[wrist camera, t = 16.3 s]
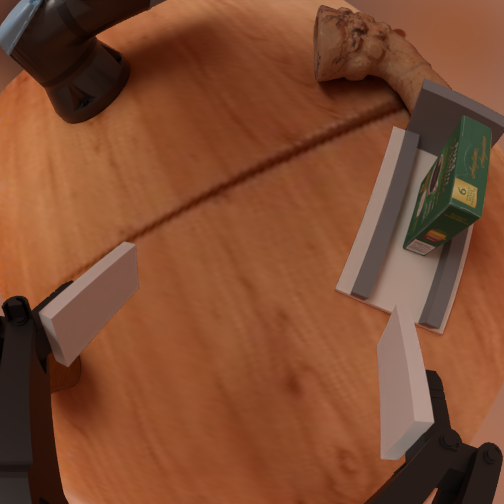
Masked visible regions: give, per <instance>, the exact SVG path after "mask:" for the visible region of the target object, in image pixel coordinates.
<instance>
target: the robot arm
mask: <svg viewBox="0 0 504 504" xmlns="http://www.w3.org/2000/svg"><path fill="white" fill-rule="evenodd" d="M164 1H166V0H21V1H20V2H19V3H18V4H17V5H16V7H15V8H14V9H13V10H12V11H11V12H10V14H9V15H8V16H7V18H6V19H5V20H4V22H3V23H2V25H1V26H0V46H1V47H2V48H3V49H4V51H5V52H6V53H7V55H8V56H10V57H11V58H13V59H14V60H15V61H16V62H17V63H18V64H19V65H20V66H21V67H22V68H23V69H24V70H25V71H26V72H28V73H29V74H30V75H31V76H32V77H33V78H34V79H35V80H36V81H37V82H38V83H40V84H41V85H42V86H43V87H44V88H45V90H46V92H47V95H48V97H49V99H50V101H51V103H52V105H53V107H54V110H55V112H56V113H57V114H58V115H59V116H60V117H61V118H62V119H63V120H64V121H66V122H68V123H78V122H82V121H84V120H87V119H89V118H91V117H92V116H94V115H96V114H97V113H99V112H100V111H101V110H103V109H104V108H105V107H106V106H107V105H108V104H109V103H111V102H112V100H113V99H114V98H115V97H116V96H117V95H118V94H119V92H120V91H121V90H122V88H123V87H124V85H125V83H126V81H127V79H128V76H129V71H130V67H129V64H128V62H127V61H126V59H125V58H124V56H123V55H122V54H121V53H120V52H118V51H116V50H115V49H113V48H111V47H110V46H108V45H106V44H105V43H103V42H101V41H99V40H98V39H97V38H96V37H95V35H97V34H99V33H101V32H103V31H105V30H106V29H108V28H110V27H112V26H114V25H116V24H118V23H120V22H122V21H125V20H127V19H129V18H131V17H133V16H135V15H137V14H140V13H142V12H144V11H147V10H150V9H151V8H152V7H154V6H156V5H158V4H160V3H162V2H164ZM138 289H139V280H138V267H137V252H136V244H132V243H128V242H123V243H121V244H120V245H119V246H118V247H116V248H115V249H114V250H113V251H111V252H110V253H109V254H107V255H106V256H105V257H104V258H102V259H101V260H100V261H99V262H97V263H96V264H95V265H94V266H93V267H91V268H90V269H89V270H88V271H86V272H85V273H84V274H83V275H82V276H80V277H79V278H78V279H77V280H76V281H72V280H71V281H69V282H67V283H65V284H62V285H61V286H60V287H59V288H58V289H56V290H55V292H53V293H52V294H50V296H49V297H47V298H46V299H45V300H43V301H42V302H41V303H40V304H39V305H38V306H37V307H35V308H34V309H33V310H32V311H31V309H30V305H29V302H28V300H27V299H26V297H23V296H14V297H11V298H9V299H7V300H6V301H5V302H4V303H3V305H2V309H3V312H4V315H5V317H3V316H0V504H69V503H68V501H67V499H66V498H65V495H64V492H63V488H62V483H61V478H60V472H59V466H58V460H57V453H56V446H55V438H54V430H53V420H52V407H51V391H50V361H49V357H48V355H49V354H50V353H51V352H53V355H54V357H55V360H56V361H57V362H59V363H61V364H63V365H65V366H67V367H69V366H70V364H71V363H72V362H73V361H74V360H75V359H76V357H77V356H78V355H79V354H80V353H81V352H82V351H83V349H84V348H85V347H86V346H87V345H88V344H89V343H90V342H91V340H92V339H93V338H94V337H95V336H96V335H97V334H98V333H99V331H100V330H101V329H102V328H103V327H104V326H105V325H106V324H107V323H108V321H109V320H110V319H111V318H112V317H113V316H114V315H115V314H116V313H117V312H118V310H119V309H120V308H121V307H122V306H123V305H124V304H125V303H126V302H127V301H128V300H129V299H130V298H131V296H132V295H133V294H134V293H135V292H136V291H137V290H138ZM377 357H378V372H379V390H380V418H381V459H386V460H399V459H400V458H401V457H402V456H403V455H404V454H405V458H406V462H405V463H404V464H403V465H402V466H401V467H400V468H398V469H397V470H396V471H395V472H394V474H393V475H392V477H391V478H390V479H389V480H388V481H387V482H386V483H385V484H384V485H383V486H382V487H381V488H380V489H379V490H378V491H377V492H376V493H375V494H374V495H373V496H371V497H370V498H369V499H368V500H367V501H366V502H365V503H364V504H423V503H424V501H425V500H426V499H427V498H428V496H429V495H430V494H431V492H432V491H433V490H434V488H438V490H437V492H436V495H435V497H434V499H433V501H432V504H492V502H493V499H494V495H495V491H496V487H497V484H498V479H499V475H500V471H501V466H502V461H503V456H502V453H501V450H500V449H499V447H498V446H496V445H495V444H494V443H490V442H488V443H484V444H482V445H481V446H480V447H479V448H475V447H472V446H469V445H467V444H464V443H462V440H461V438H460V436H459V434H458V433H457V432H456V431H455V430H453V429H451V426H450V420H449V414H448V409H447V404H446V400H445V394H444V392H443V391H444V390H443V385H442V381H441V379H440V377H439V376H438V374H437V373H436V371H431V370H425V367H424V363H423V358H422V353H421V349H420V344H419V340H418V336H417V332H416V328H415V324H414V320H413V316H412V312H411V309H410V307H408V306H403V305H399V304H396V305H395V307H394V309H393V312H392V314H391V316H390V318H389V321H388V323H387V325H386V327H385V330H384V332H383V334H382V336H381V338H380V340H379V342H378V345H377Z"/></svg>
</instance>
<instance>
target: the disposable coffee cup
mask: <svg viewBox="0 0 504 504" xmlns="http://www.w3.org/2000/svg"><path fill="white" fill-rule="evenodd" d="M48 357H49V361H50V391H51V394H52V393H54V392H56V391H59V390H62V389H65V388H68V387H72V386H74V385H75V384H76V383H77V381H78V379H79V377H80V372H81V365H80V360H79V356H77V357H76V359H75V360H74V361H73V362H72V363H71V364H70V366H69V367H67V366H65V365H63V364H61V363H59V362H57V361H56V360H55V357H54V355H53V352H51V353H50V354H49V355H48Z"/></svg>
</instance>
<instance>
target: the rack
mask: <svg viewBox="0 0 504 504" xmlns="http://www.w3.org/2000/svg"><path fill="white" fill-rule="evenodd" d="M463 115H464V116H467V117H469V118H472V119H474V120H476V121H478V122H480V123H481V124H483V125H485V126H487V127H489V128H490V129H491V130H492V138H491V148H492V147H493V146H494V145H495V143H496V142H497V141H498V140H499V138H500V137H501V136H502V134H503V133H504V116H502V115H501V114H499V113H497V112H495V111H493V110H492V109H490V108H488V107H486V106H484V105H482V104H480V103H478V102H476V101H474V100H472V99H470V98H468V97H466V96H464V95H462V94H460V93H458V92H456V91H453V90H451V89H449V88H447V87H445V86H442V85H440V84H438V83H435V82H433V81H430V80H428V79H425V78H424V81H423V84H422V87H421V90H420V92H419V95H418V98H417V101H416V104H415V107H414V110H413V112H412V115H411V118H410V120H409V123H408V125H407V128H406V131H405V130H403V129H400V128H398V127H395V126H394V127H393V130H392V133H391V136H390V139H389V143H388V146H387V149H386V152H385V156H384V159H383V162H382V165H381V168H380V171H379V174H378V177H377V180H376V183H375V186H374V189H373V192H372V195H371V198H370V200H369V203H368V206H367V209H366V212H365V214H364V217H363V220H362V223H361V225H360V228H359V231H358V233H357V236H356V238H355V241H354V244H353V246H352V249H351V251H350V254H349V256H348V259H347V261H346V264H345V266H344V269H343V271H342V274H341V276H340V279H339V281H338V283H337V286H336V288H335V291H337V292H339V293H342V294H344V295H346V296H349V297H351V298H353V299H356V300H358V301H361V302H363V303H365V304H368V305H370V306H372V307H375V308H377V309H379V310H382V311H384V312H387V313H389V314H392V312H393V309H394V307H395V305H396V304H399V305H403V306H408V307H410V309H411V312H412V316H413V320H414V324H415V325H417V326H420V327H422V328H424V329H427V330H429V331H432V332H434V333H436V334H443V331H444V328H445V326H446V323H447V320H448V317H449V314H450V311H451V308H452V305H453V302H454V299H455V296H456V292H457V289H458V286H459V282H460V279H461V275H462V272H463V268H464V264H465V260H466V256H467V252H468V248H469V244H470V240H471V235H472V230H473V226H474V223H473V224H472V225H471V226H469V227H468V228H466V229H465V230H463V231H462V232H460V233H459V234H457V235H456V236H454V237H453V238H451V239H450V240H448V241H447V242H445V243H444V244H442V245H441V246H439V247H438V248H436V249H435V250H433V251H432V252H430V253H428V254H427V255H425V256H422V255H420V254H417V253H414V252H411V251H409V250H406V249H403V244H404V241H405V237H406V234H407V231H408V228H409V225H410V221H411V218H412V215H413V211H414V208H415V204H416V201H417V196H418V193H419V189H420V185H421V182H422V181H423V179H424V178H425V176H426V175H427V173H428V172H429V170H430V169H431V167H432V165H433V164H434V162H435V161H436V159H437V158H438V156H439V155H440V153H441V151H442V150H443V148H444V146H445V145H446V143H447V141H448V140H449V138H450V136H451V135H452V133H453V131H454V130H455V128H456V126H457V124H458V122H459V121H460V119H461V117H462V116H463Z"/></svg>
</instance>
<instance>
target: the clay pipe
mask: <svg viewBox="0 0 504 504" xmlns="http://www.w3.org/2000/svg"><path fill="white" fill-rule="evenodd" d="M314 60H315V77H316V80H317V81H319V82H323V81H328V80H333V79H338V78H342V77H345V78H346V79H347V80H353V81H357V80H363V79H364V78H365V77H366V75H373V76H377V77H380V78H383V79H384V80H385V81H386V82H387V83H388V84H389V85H390V86H391V87H392V89H393V90H394V91H395V92H397V93H398V94H399V95H400V97H401V99H402V100H403V102H404V104H405V105H406V107H407V109H408V111H409V113H410V115H412V112H413V110H414V107H415V104H416V101H417V98H418V95H419V92H420V90H421V87H422V84H423V81H424V78H425V79H428V80H430V81H433V82H435V83H438V84H440V85H442V86H445V87H447V88H449V89H451V90H452V88H451V87H450V86H449V85H448V84H447V82H445V81H444V80H443V79H442V78H441V77H440V76H439V74H438V73H436V72H435V71H434V70H433V69H432V67H431V65H430V64H429V63H428V62H427V61H426V60H425V59H424V58H423V57H422V56H421V55H420V54H419V53H418V51H417V50H416V48H415V47H414V46H413V45H412V44H411V43H410V42H408V41H407V40H406V39H405V38H403V37H402V36H400V35H398V34H396V33H395V32H393V31H392V29H391V27H390V26H389V25H388V24H386V23H384V22H375V20H374V18H373V17H371V16H369V15H366V14H363V13H360V12H357V13H355V14H354V13H353V12H352V11H351V10H350V9H348V8H343V7H341V8H339V9H337V10H336V9H333V8H330V7H327V6H324V5H321V6H320V7H319V9H318V12H317V16H316V20H315V25H314Z"/></svg>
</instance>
